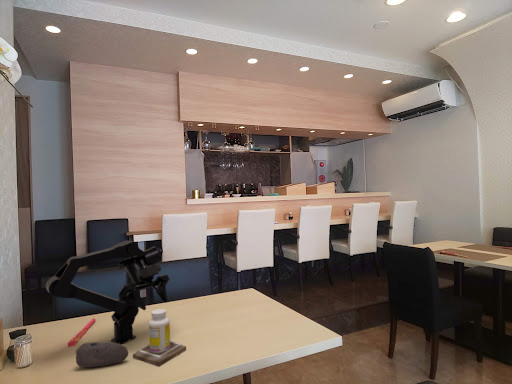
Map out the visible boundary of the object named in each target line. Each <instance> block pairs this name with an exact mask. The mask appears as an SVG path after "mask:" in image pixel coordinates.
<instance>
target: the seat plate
mask: <svg viewBox="0 0 512 384" xmlns="http://www.w3.org/2000/svg"><path fill="white" fill-rule="evenodd" d="M185 351H187V346H186V345H183V343H181V342H180V343H179V342H176V341H173V340H170V349H169V350H168V351H166V352H164V353H160V354H154V353H151V352H150V345H149V344H146V345H145V346H143V347H141V348H139V349H137V350H136V352H135V353H133V354H132V358H133V359H135V360H139V361H142V362H144V363H148V364H150V365H154V366H157V367H160V366H163V365H164V364H166V363H168V362H169V361H171V360H173V359H174V358H175V357H177V356H179V355H181V354H182V353H184V352H185Z"/></svg>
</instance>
